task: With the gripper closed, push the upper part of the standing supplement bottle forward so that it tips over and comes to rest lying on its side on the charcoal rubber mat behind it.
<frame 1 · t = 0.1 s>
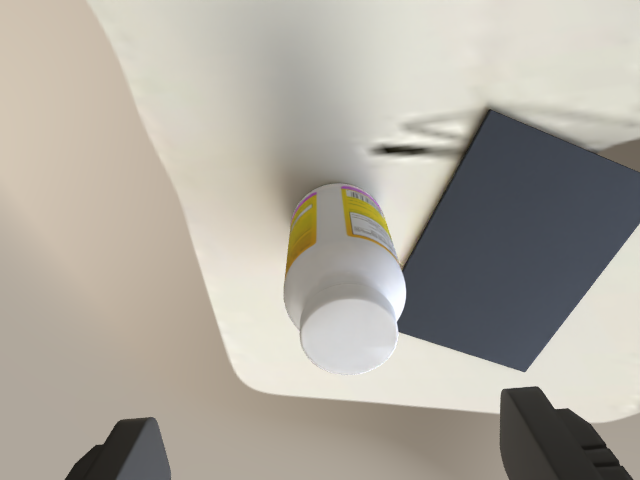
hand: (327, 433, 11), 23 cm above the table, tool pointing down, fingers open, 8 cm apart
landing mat: (509, 258, 34), on the table
supplement bottle: (337, 222, 33), on the table
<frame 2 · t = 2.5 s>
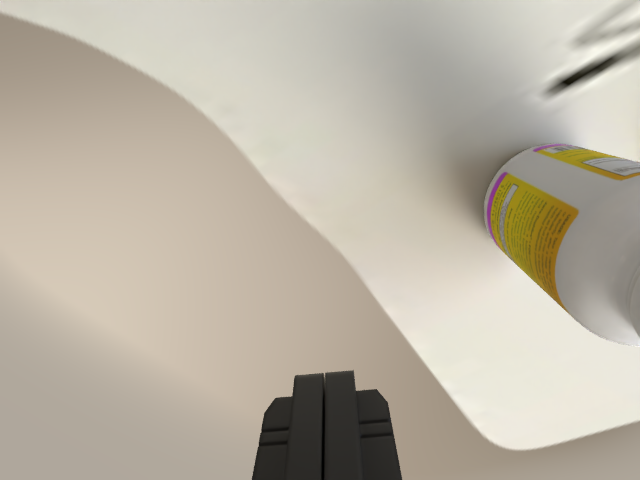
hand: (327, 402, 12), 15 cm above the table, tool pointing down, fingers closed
supplement bottle: (538, 200, 26), on the table
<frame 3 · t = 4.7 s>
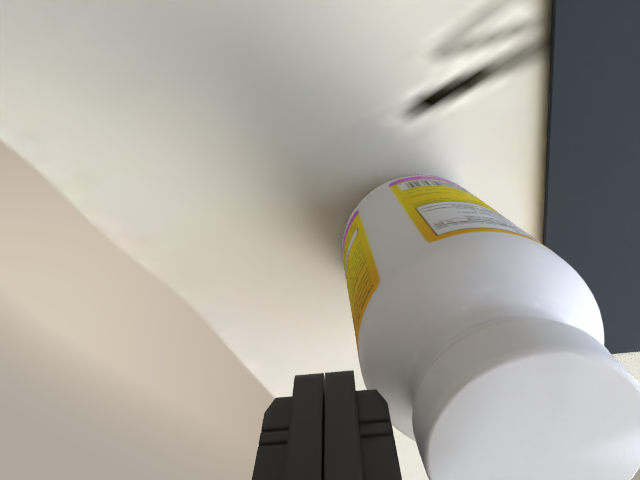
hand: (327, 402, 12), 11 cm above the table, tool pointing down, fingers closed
supplement bottle: (411, 240, 22), on the table, touching gripper
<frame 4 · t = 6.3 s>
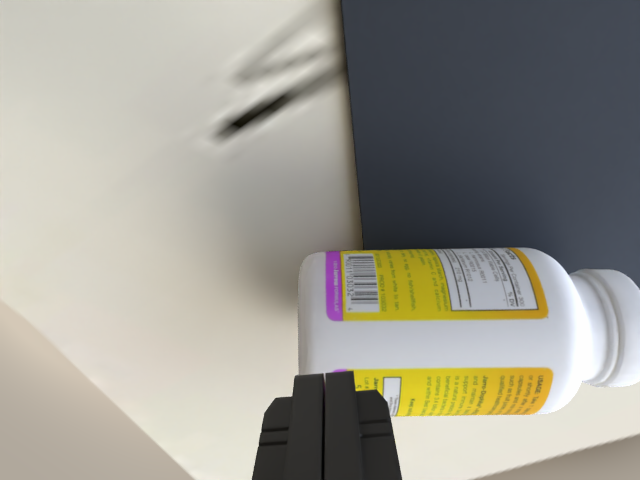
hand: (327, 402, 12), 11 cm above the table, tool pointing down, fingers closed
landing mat: (515, 188, 21), on the table
supplement bottle: (296, 330, 19), point 4 cm above the table, touching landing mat
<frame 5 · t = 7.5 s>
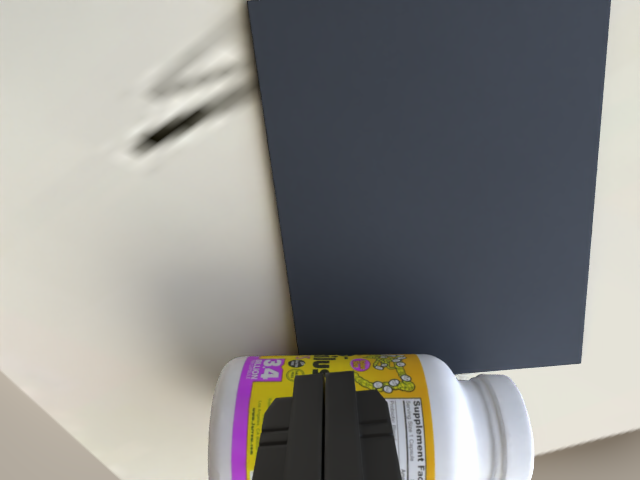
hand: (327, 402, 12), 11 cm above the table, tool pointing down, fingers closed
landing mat: (433, 203, 21), on the table
supplement bottle: (218, 432, 21), point 4 cm above the table, touching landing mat
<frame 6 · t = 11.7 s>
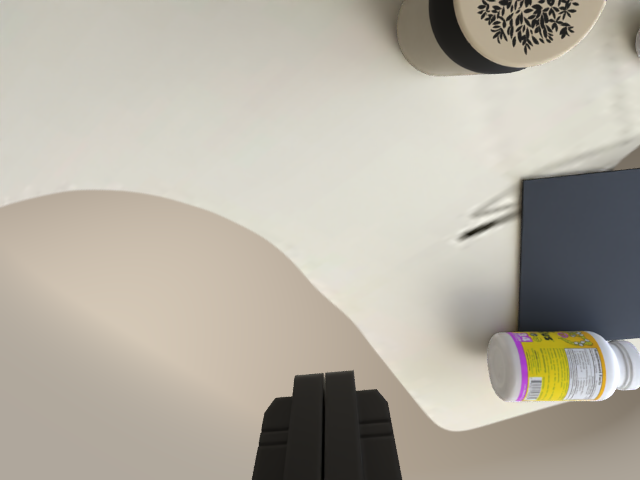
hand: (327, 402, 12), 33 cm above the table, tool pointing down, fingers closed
travel mug: (442, 26, 39), on the table
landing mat: (591, 262, 46), on the table
supplement bottle: (494, 366, 45), point 4 cm above the table, touching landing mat
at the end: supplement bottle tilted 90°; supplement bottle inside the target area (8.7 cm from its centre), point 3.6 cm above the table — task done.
